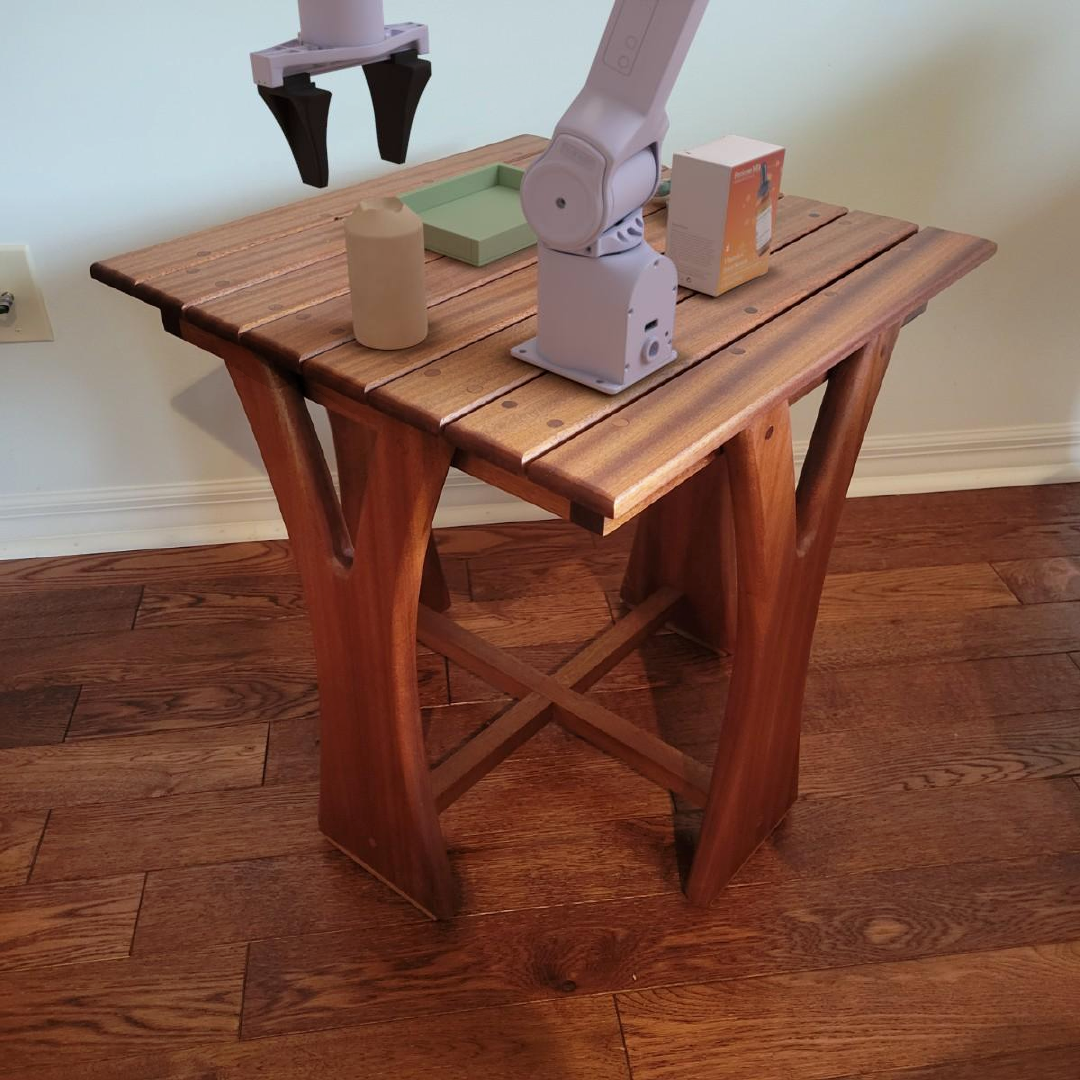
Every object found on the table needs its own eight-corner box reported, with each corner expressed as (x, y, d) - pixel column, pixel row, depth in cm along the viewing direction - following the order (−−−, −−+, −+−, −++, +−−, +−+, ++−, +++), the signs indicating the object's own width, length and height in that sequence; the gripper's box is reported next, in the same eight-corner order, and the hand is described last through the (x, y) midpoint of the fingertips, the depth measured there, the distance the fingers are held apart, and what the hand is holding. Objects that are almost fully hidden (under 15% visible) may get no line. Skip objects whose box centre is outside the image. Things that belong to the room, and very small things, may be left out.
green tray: (604, 215, 104) (605, 190, 103) (478, 267, 93) (478, 240, 92) (498, 184, 111) (497, 161, 110) (369, 229, 100) (367, 204, 99)
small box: (715, 299, 88) (730, 167, 82) (660, 280, 91) (670, 152, 85) (770, 272, 93) (788, 145, 87) (715, 255, 96) (729, 131, 90)
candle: (416, 354, 79) (408, 218, 74) (343, 346, 80) (330, 211, 74) (436, 323, 84) (431, 192, 78) (368, 316, 85) (357, 186, 79)
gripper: (377, -51, 80) (390, 141, 87) (210, -28, 71) (241, 184, 78) (446, -40, 76) (453, 159, 84) (279, -15, 67) (305, 205, 75)
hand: (355, 172), depth 81 cm, fingers open, 7 cm apart
